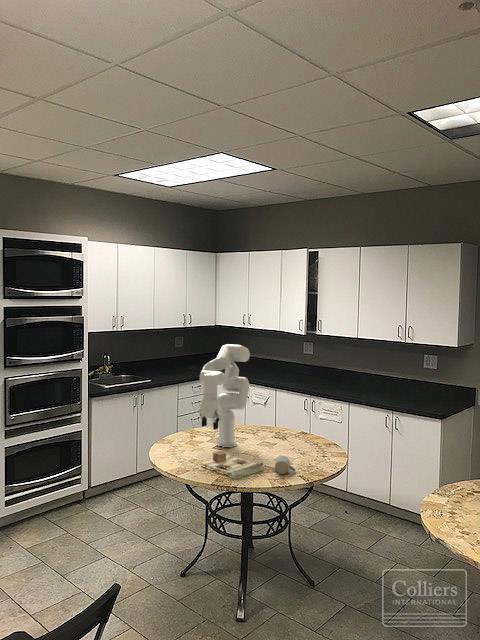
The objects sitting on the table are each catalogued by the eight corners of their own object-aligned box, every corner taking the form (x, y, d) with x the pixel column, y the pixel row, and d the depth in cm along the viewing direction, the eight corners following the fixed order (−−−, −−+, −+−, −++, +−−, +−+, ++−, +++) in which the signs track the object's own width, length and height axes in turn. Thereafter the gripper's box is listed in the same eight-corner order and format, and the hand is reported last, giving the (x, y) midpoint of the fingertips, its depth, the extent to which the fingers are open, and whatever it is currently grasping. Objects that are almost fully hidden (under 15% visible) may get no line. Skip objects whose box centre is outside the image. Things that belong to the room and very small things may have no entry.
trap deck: (201, 466, 280) (201, 459, 280) (228, 458, 295) (228, 451, 294) (235, 479, 262) (235, 471, 262) (262, 469, 276) (263, 462, 276)
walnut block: (212, 460, 285) (212, 452, 285) (219, 458, 288) (219, 450, 288) (219, 462, 281) (219, 454, 281) (226, 460, 285) (226, 452, 285)
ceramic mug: (274, 474, 269) (274, 459, 269) (275, 469, 277) (275, 454, 277) (295, 476, 268) (296, 461, 268) (295, 470, 276) (295, 456, 276)
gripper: (194, 394, 292) (194, 425, 293) (216, 399, 280) (215, 431, 281) (204, 393, 297) (204, 423, 298) (226, 397, 285) (225, 429, 286)
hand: (209, 427), depth 289 cm, fingers open, 8 cm apart
